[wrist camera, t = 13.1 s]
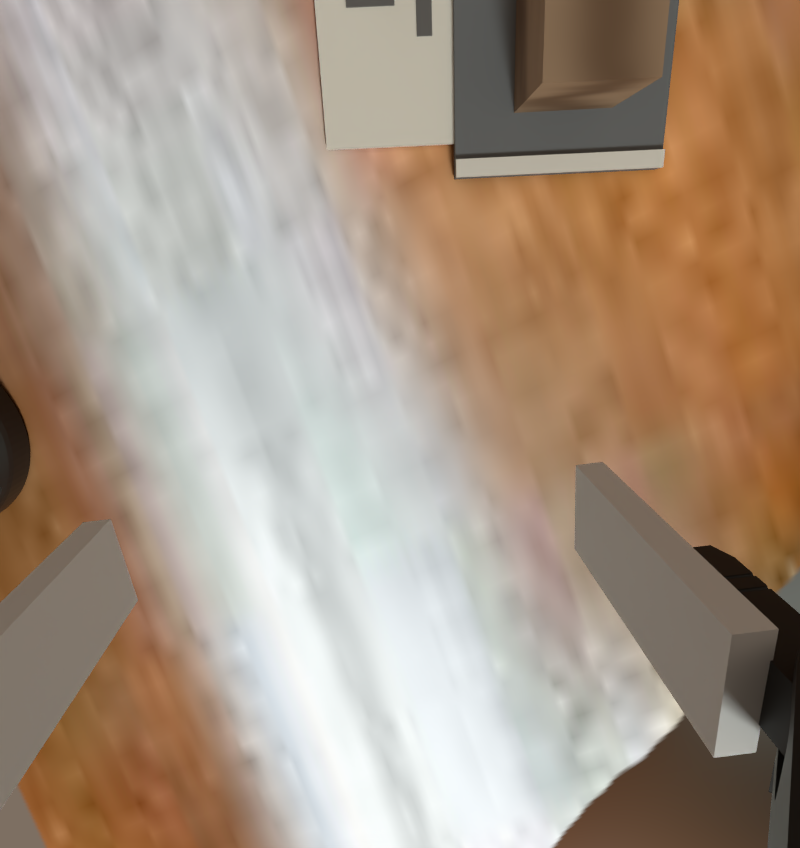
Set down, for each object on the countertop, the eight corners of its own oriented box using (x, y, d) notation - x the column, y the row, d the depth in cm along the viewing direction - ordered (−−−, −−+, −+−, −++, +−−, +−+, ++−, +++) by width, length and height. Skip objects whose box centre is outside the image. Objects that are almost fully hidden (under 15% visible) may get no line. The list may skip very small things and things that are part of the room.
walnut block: (514, 112, 31) (542, 83, 25) (516, -8, 29) (547, -69, 23) (612, 107, 31) (662, 76, 25) (621, -13, 29) (677, -75, 24)
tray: (454, 179, 33) (456, 177, 32) (451, -76, 29) (453, -88, 28) (654, 169, 33) (663, 166, 32) (681, -86, 29) (692, -99, 28)
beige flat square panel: (327, 150, 32) (326, 149, 32) (312, -26, 29) (311, -29, 29) (469, 143, 32) (470, 142, 32) (469, -33, 29) (470, -36, 29)
